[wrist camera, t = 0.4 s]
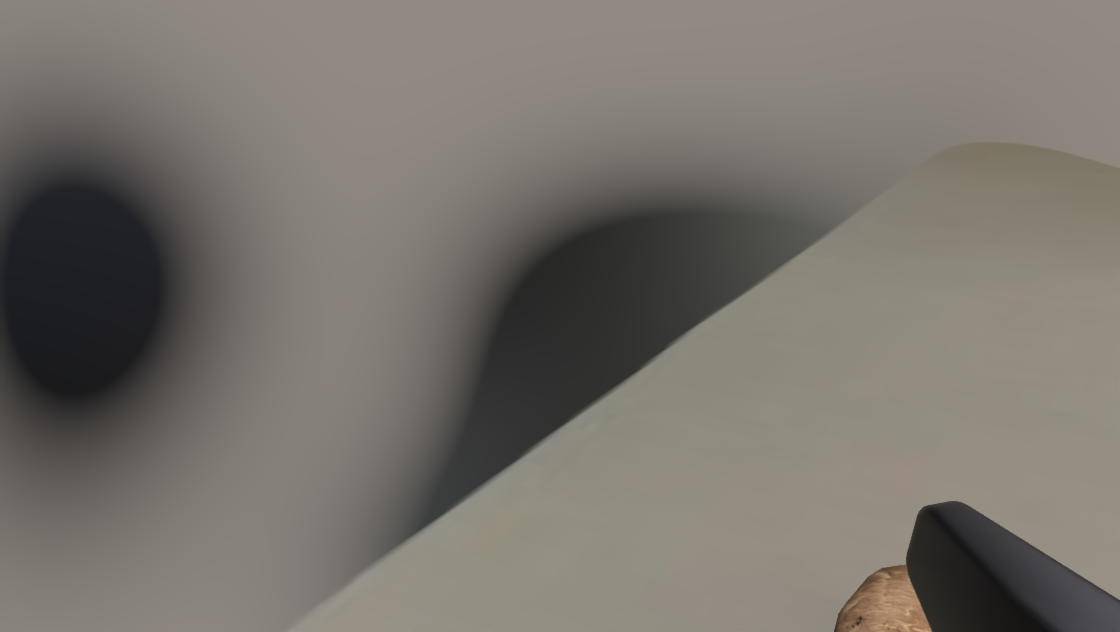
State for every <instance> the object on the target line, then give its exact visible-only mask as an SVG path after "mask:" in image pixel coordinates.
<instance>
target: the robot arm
mask: <svg viewBox="0 0 1120 632" xmlns="http://www.w3.org/2000/svg"><path fill="white" fill-rule="evenodd" d="M906 566H907V572H908V576H909V579H910V581H911V584H912V586H913V588H914V591H915V593H916V595H917V598H918V600H919V602H920V605H921V607H922V609H923V612H924V614H925V616H926V619H927V621H928V623H929V626H930V628H931V630H932V632H1120V600H1118V599H1117V598H1115V597H1114V596H1112V595H1110V594H1109V593H1107V592H1106V591H1104V590H1102V589H1101V588H1099V587H1098V586H1096V585H1094V584H1093V583H1091V582H1090V581H1088V580H1086V579H1085V578H1083V577H1082V576H1080V575H1078V574H1077V573H1075V572H1074V571H1072V570H1070V569H1069V568H1067V567H1066V566H1064V565H1062V564H1061V563H1059V562H1058V561H1056V560H1054V559H1053V558H1051V557H1050V556H1048V555H1046V554H1045V553H1043V552H1042V551H1040V550H1038V549H1037V548H1035V547H1034V546H1032V545H1030V544H1029V543H1027V542H1026V541H1024V540H1022V539H1021V538H1019V537H1018V536H1016V535H1014V534H1013V533H1011V532H1010V531H1008V530H1006V529H1005V528H1003V527H1002V526H1000V525H998V524H997V523H995V522H994V521H992V520H990V519H989V518H987V517H986V516H984V515H982V514H981V513H979V512H978V511H976V510H974V509H973V508H971V507H970V506H968V505H966V504H964V503H961V502H958V501H949V502H944V503H938V504H933V505H928V506H925V507H923V508H922V509H921V510H920V511H919V513H918V515H917V518H916V522H915V526H914V529H913V533H912V537H911V541H910V544H909V548H908V552H907V556H906Z"/></svg>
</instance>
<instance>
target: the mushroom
mask: <svg viewBox="0 0 1120 632" xmlns="http://www.w3.org/2000/svg"><path fill="white" fill-rule="evenodd" d="M834 632H932V630H931V628H930V626H929V623H928V621H927V619H926V616H925V614H924V612H923V609H922V607H921V605H920V602H919V600H918V598H917V595H916V593H915V591H914V588H913V586H912V584H911V581H910V579H909V576H908V572H907V566H906V565H899V566H893V567H887V568H881V569H880V570H878V571H877V572H875V573H873V574H872V575H870V576H869V577H868V578H867V579H866V580H865V581H864V582H863V584H862V585H861V586H860V587H859V588H858V590H857V591H856V592H855V593H854V594H853V596H852V597H851V598H850V599H849V600H848V601H847V603H846V604H845V605H844V607H843V608H842V610H841V611H840V613H839V614H838V618H837V622H836V626H835V630H834Z"/></svg>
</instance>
